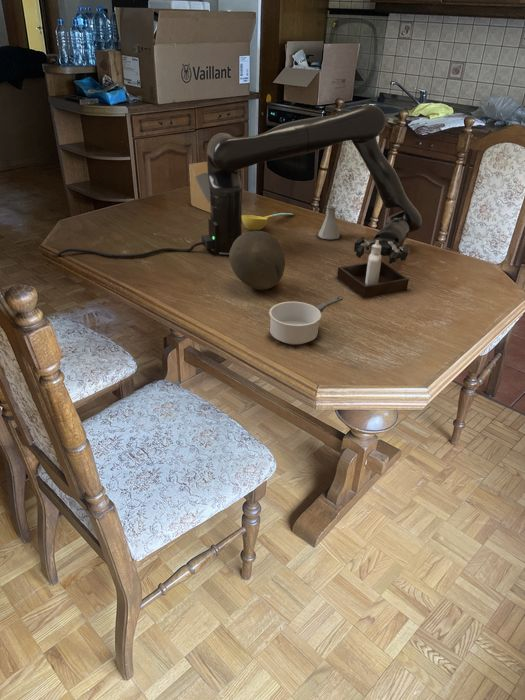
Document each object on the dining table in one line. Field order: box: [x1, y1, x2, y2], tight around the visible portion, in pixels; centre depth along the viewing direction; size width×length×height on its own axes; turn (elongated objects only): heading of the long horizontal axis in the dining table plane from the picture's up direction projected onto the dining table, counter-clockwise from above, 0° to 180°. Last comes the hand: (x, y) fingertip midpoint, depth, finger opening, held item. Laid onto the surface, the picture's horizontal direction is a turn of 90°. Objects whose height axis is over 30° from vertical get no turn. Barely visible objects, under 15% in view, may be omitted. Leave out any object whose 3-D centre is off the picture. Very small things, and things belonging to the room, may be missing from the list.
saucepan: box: [268, 296, 344, 345], centre depth 122 cm, size 12×20×6 cm, turn 127°
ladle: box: [242, 212, 294, 231], centre depth 186 cm, size 9×26×6 cm, turn 142°
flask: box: [317, 204, 341, 240], centre depth 175 cm, size 7×7×10 cm
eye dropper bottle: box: [365, 240, 383, 285], centre depth 143 cm, size 4×6×12 cm
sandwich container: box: [188, 161, 210, 213], centre depth 197 cm, size 9×15×15 cm, turn 42°
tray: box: [336, 261, 410, 299], centre depth 145 cm, size 14×14×3 cm
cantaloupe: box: [228, 230, 286, 291], centre depth 138 cm, size 14×14×15 cm
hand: (374, 257), depth 141 cm, fingers open, 8 cm apart
